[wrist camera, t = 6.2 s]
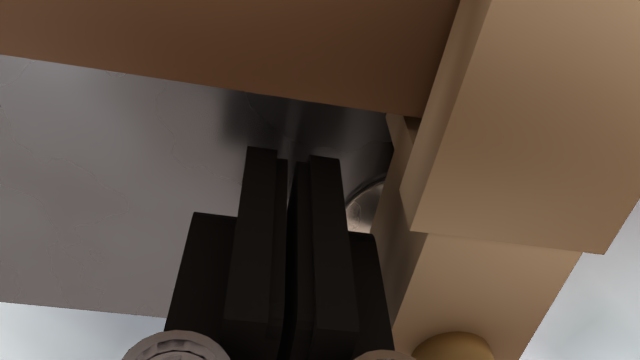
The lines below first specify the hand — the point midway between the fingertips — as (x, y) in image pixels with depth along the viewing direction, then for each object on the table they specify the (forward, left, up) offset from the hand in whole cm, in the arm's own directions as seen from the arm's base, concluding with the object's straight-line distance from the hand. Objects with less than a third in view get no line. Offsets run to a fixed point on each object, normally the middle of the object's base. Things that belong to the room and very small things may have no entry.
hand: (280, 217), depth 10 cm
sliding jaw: (-2, +3, -1) cm, 4 cm away
